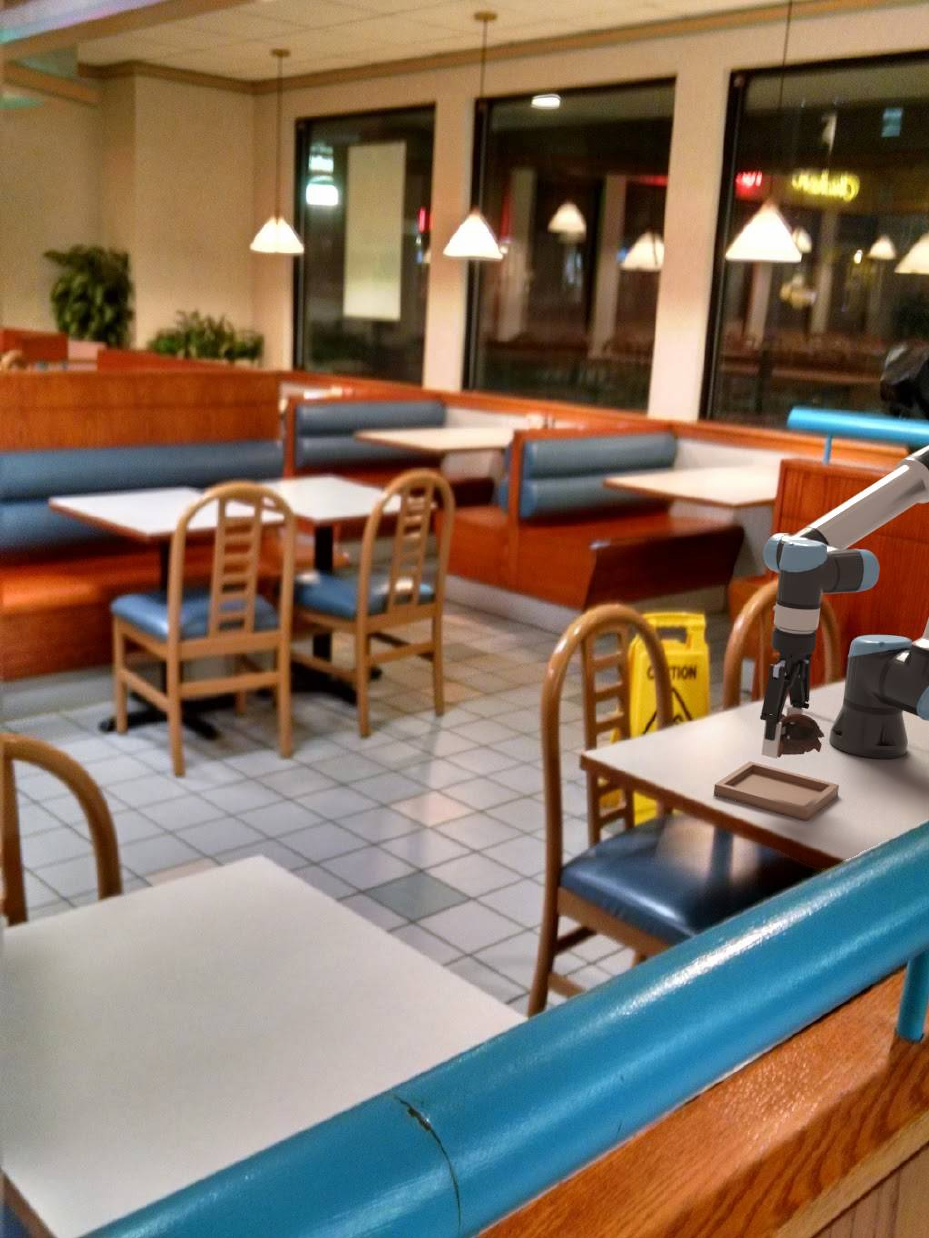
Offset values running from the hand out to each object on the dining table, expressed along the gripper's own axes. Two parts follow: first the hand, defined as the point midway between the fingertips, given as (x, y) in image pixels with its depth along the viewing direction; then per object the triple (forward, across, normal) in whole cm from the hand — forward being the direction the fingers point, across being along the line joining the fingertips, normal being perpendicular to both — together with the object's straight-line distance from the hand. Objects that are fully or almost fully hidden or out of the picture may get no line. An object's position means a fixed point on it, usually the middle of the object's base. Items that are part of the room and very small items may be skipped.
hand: (780, 748), depth 218 cm
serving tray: (+9, 0, 0) cm, 9 cm away
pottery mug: (0, 0, +2) cm, 2 cm away
